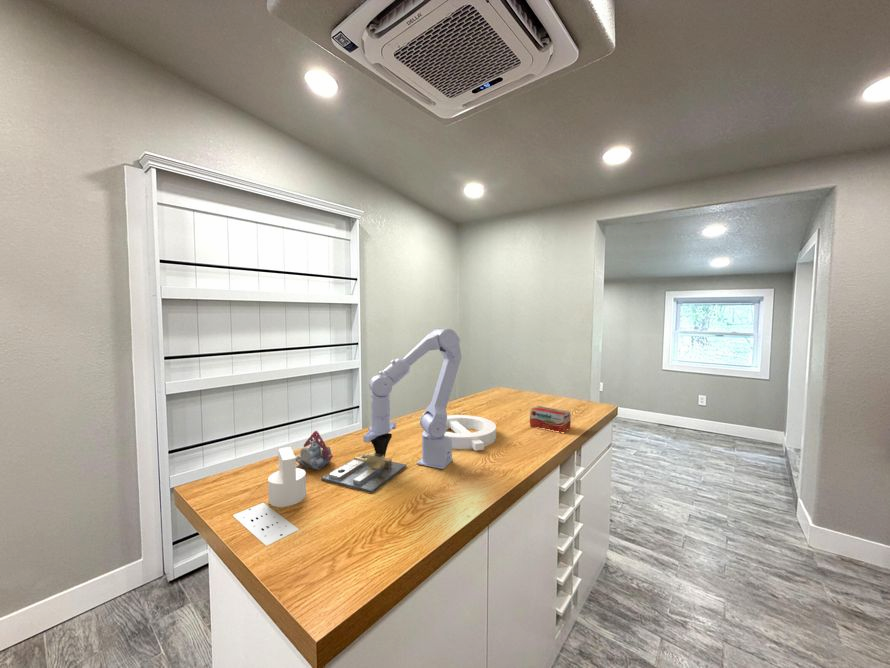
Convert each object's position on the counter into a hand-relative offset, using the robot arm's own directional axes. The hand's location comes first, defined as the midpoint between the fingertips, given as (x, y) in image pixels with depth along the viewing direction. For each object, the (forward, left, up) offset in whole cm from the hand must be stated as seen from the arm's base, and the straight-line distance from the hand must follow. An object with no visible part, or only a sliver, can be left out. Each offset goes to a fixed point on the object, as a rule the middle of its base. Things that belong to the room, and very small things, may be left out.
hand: (380, 457), depth 107 cm
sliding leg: (+3, +3, -2) cm, 4 cm away
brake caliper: (+21, +6, -4) cm, 23 cm away
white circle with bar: (-11, -39, -5) cm, 41 cm away
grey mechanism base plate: (+3, +4, -4) cm, 6 cm away
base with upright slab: (+13, +24, -4) cm, 27 cm away
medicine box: (-42, -64, -4) cm, 77 cm away
